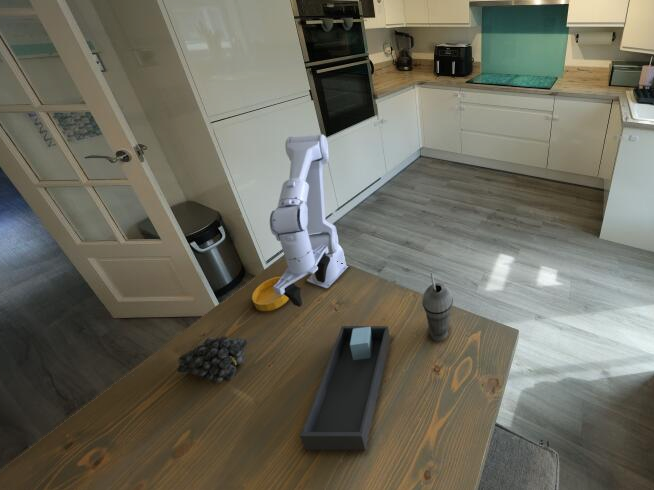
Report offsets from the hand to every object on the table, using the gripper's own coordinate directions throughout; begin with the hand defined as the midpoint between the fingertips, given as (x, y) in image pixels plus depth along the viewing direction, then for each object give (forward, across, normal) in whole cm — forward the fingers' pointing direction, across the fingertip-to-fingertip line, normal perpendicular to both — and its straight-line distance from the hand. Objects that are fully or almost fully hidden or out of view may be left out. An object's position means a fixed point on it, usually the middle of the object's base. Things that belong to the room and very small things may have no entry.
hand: (310, 292), depth 78 cm
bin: (+9, -10, -20) cm, 24 cm away
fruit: (+10, -18, +12) cm, 24 cm away
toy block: (+9, -3, -17) cm, 20 cm away
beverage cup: (+10, +8, -32) cm, 34 cm away
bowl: (+9, 0, +16) cm, 19 cm away
